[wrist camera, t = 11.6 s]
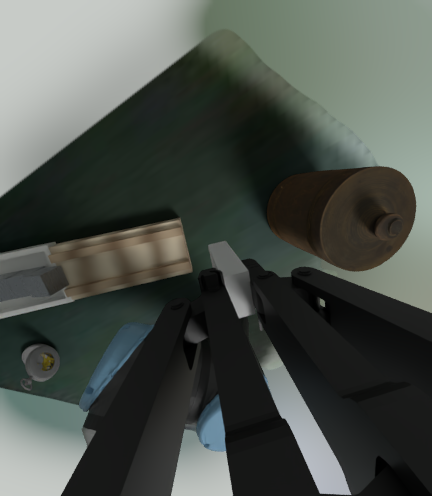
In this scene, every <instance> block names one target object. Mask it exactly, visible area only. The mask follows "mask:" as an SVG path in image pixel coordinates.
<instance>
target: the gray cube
mask: <svg viewBox="0 0 432 496" xmlns="http://www.w3.org/2000/svg"><path fill="white" fill-rule="evenodd" d="M22 279H23V281H24V283H25V285H26V287H27V289H28V291H29V293H30V295H31V297H32V298H35V297H48V296H51V295H53V294H55V293H56V292H58V291H60V290H61V289H63V288H65V287H67V286H68V285H69V283H68V281H67V278H66V276H65V274H64V272H63V269H62V267H61V266H54V267H45V268H42V269H40V270H37V271H35V272H33V273H31V274H28V275H26V276H24V277H22Z"/></svg>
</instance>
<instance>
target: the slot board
mask: <svg viewBox="0 0 432 496" xmlns="http://www.w3.org/2000/svg"><path fill="white" fill-rule="evenodd" d="M49 250H50V253H51V255H49V256H48V257H49V260H50V262H51V264H52V263H56V266H61V267H62V269H63V272H64V274H65V276H66V278H67V281H68V283H69V285H68V286H67V288H66V289H65V290H64V292H65V294H66V296H67V297H71V298H72V300H76V299H80V298H84V297H88V296H93V295H97V294H101V293H105V292H110V291H114V290H118V289H122V288H127V287H131V286H135V285H139V284H144V283H148V282H152V281H156V280H161V279H165V278H169V277H173V276H178V275H182V274H186V273H190V272H192V265H191V260H190V256H189V252H188V248H187V244H186V240H185V236H184V232H183V228H182V224H181V219H180V218H176V219H172V220H167V221H162V222H157V223H153V224H148V225H143V226H139V227H134V228H129V229H124V230H120V231H115V232H110V233H105V234H101V235H96V236H91V237H87V238H82V239H77V240H72V241H68V242H63V243H58V244H56V245H54V246H51V247H49Z"/></svg>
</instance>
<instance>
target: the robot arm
mask: <svg viewBox="0 0 432 496" xmlns="http://www.w3.org/2000/svg"><path fill="white" fill-rule="evenodd" d="M208 247H209V252H210V256H211V261H212V266H213V268H211V269H206V270H202V271H201V272H200V274H199V276H198V280H199V284H200V288H201V292H202V294H201V296H200V297H199V298H197V299H196V300H194V301H192V302H190V301H189V300H188V299H186V298H178V299H174V300H172V301H170V302H169V303H167V304H166V305H165V307H164V308H163V310H162V312H161V314H160V316H159V318H158V319H157V321H156V323H155V325H154V324H153V325H147V324H142V323H137V322H130V323H127V324H125V325H124V326H122V327H121V328H120V330H119V331H118V332H117V334H116V335H115V337H114V338H113V340H112V341H111V343H110V345H109V346H108V348H107V350H106V351H105V353H104V355H103V357H102V358H101V360H100V362H99V364H98V366H97V367H96V369H95V371H94V373H93V375H92V377H91V379H90V381H89V384H88V385H87V388H86V390H85V392H84V393H83V395H82V397H81V400H80V403H79V406H80V408H81V409H83V411H84V412H87V411H88V410H89V413H88V416H87V418H86V420H85V423H84V425H83V428H82V432H83V435H84V438H85V440H86V443H87V449H86V451H85V453H84V454H83V456H82V458H81V460H80V462H79V463H78V465H77V467H76V469H75V471H74V473H73V474H72V477H71V478H70V480H69V482H68V483H67V485H66V487H65V489H64V491H63V493H62V494H61V496H171V492H172V487H173V482H174V477H175V472H176V467H177V462H178V457H179V452H180V447H181V443H182V438H183V433H184V428H185V424H190V425H196V426H197V427H196V433H197V435H198V437H199V440H200V442H201V443H202V444H203V445H204V447H205V448H207V449H209V450H212V451H226V453H227V460H228V466H229V472H230V478H231V485H232V491H233V496H432V313H430V312H427V311H424V310H422V309H419V308H417V307H414V306H411V305H409V304H406V303H404V302H401V301H398V300H396V299H393V298H390V297H388V296H385V295H383V294H380V293H377V292H375V291H372V290H369V289H367V288H364V287H361V286H358V285H356V284H354V283H351V282H348V281H346V280H343V279H340V278H338V277H335V276H333V275H330V274H327V273H325V272H322V271H320V270H317V269H314V268H310V267H299V268H296V269H294V270H292V272H291V276H292V277H281V278H280V277H279V276H278V275H277V274H275V273H274V272H272V271H265V270H264V269H263V268H262V267H261V266H260V265H259V264H258V263H257V262H256V261H255V260H253V259H246V260H240V259H239V258H238V256H237V255H236V254H235V253H234V251H233V250H232V249H231V247H230V246H229V245H228V244H227V242H226V241H223V242H219V243H214V244H210V245H208ZM320 298H321V299H323V300H324V301H325V307H323V306H321V305H320ZM254 306H255V307H254ZM255 308H256V309H257V314H258V320H259V326H260V330H262V326H263V328H264V330H265V331H266V333H267V335H268V337H269V338H270V340H271V342H272V344H273V346H274V347H275V349H276V351H277V353H278V355H279V356H280V358H281V360H282V362H283V363H284V365H285V367H286V369H287V371H288V372H289V374H290V376H291V378H292V380H293V381H294V383H295V385H296V387H297V388H298V390H299V392H300V394H301V396H302V397H303V399H304V401H305V403H306V405H307V406H308V408H309V410H310V412H311V413H312V415H313V417H314V419H315V421H316V422H317V424H318V426H319V428H320V429H321V431H322V433H323V435H324V437H325V438H326V440H327V442H328V444H329V445H330V447H331V449H332V451H333V453H334V455H335V456H336V458H337V460H338V462H339V464H340V466H341V468H342V470H343V473H344V475H345V478H346V481H347V484H348V487H349V490H350V492H351V495H336V494H320V493H319V491H318V488H317V486H316V484H315V482H314V480H313V477H312V475H311V473H310V471H309V469H308V466H307V464H306V462H305V459H304V457H303V455H302V453H301V450H300V448H299V446H298V444H297V441H296V439H295V437H294V435H293V433H292V430H291V429H290V426H289V425H288V423H287V421H286V420H285V419H282V418H281V416H280V414H279V412H278V410H277V407H276V405H275V403H274V400H273V398H272V395H271V392H270V389H269V386H268V381H267V378H266V377H265V375H264V373H263V370H262V368H261V366H260V364H259V361H258V359H257V357H256V355H255V353H254V350H253V348H252V346H251V344H250V341H249V339H248V334H249V323H248V318H247V316H249V315H253V314H256V313H255Z"/></svg>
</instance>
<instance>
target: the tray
mask: <svg viewBox="0 0 432 496" xmlns="http://www.w3.org/2000/svg"><path fill="white" fill-rule="evenodd" d="M54 245H56V242H50V243H46V244H41V245H36V246H31V247H27V248H22V249H17V250H12V251H8V252H3V253H0V275H2V274H6V273H11V272H16V271H20V270H27V269H32V268H36V267H41V266H45V267H54V266H56V263H52V264H51V262H50V260H49V257H48V256H49V255H51V253H50V250H49V247H51V246H54ZM66 288H67V287H65V288H63V289H61V290H60V291H58V292H56V293H55V294H53V295H51V296H48V297H35V298H32V297H31V296H27V297H22V298H18V299H11V300H7V301H2V302H0V319H1V318H5V317H10V316H14V315H18V314H22V313H27V312H31V311H35V310H39V309H44V308H48V307H52V306H56V305H61V304H65V303H69V302H73V301H74V300H72V298H71V297H67V296H66V294H65V292H64V290H65V289H66Z"/></svg>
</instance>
